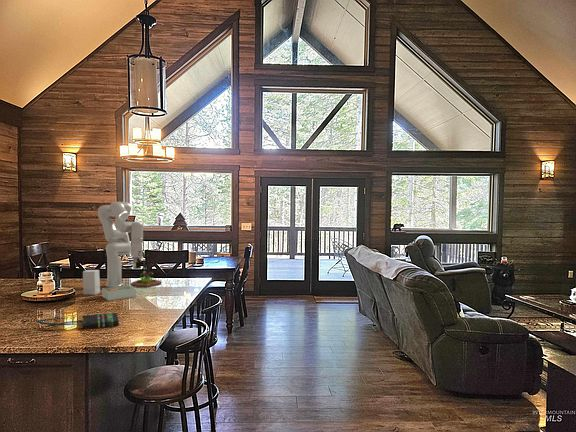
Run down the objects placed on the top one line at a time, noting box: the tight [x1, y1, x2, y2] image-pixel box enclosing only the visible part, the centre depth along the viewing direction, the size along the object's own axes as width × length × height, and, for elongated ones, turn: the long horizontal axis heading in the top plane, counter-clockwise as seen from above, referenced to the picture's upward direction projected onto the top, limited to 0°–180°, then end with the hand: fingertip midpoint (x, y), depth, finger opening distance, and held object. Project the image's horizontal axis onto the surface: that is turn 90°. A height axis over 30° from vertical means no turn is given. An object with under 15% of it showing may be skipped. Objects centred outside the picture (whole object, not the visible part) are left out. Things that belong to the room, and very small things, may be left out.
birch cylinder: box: [132, 257, 142, 270], centre depth 277 cm, size 5×5×7 cm
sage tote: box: [101, 284, 137, 302], centre depth 262 cm, size 13×17×6 cm
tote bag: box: [37, 312, 120, 332], centre depth 201 cm, size 21×5×35 cm
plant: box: [130, 270, 163, 289], centre depth 302 cm, size 20×20×11 cm
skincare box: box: [82, 269, 101, 296], centre depth 270 cm, size 8×7×16 cm
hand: (137, 267), depth 277 cm, fingers closed on birch cylinder, 4 cm apart
